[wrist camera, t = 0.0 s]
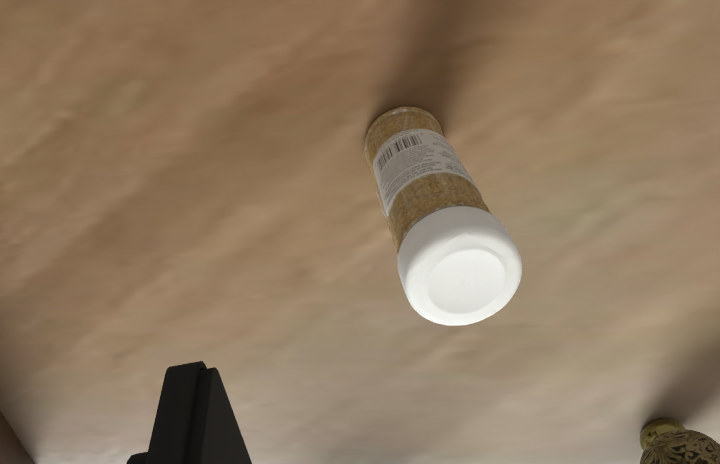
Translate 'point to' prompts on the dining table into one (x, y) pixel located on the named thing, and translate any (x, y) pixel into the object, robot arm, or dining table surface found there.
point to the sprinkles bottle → (439, 222)
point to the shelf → (11, 446)
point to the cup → (676, 445)
